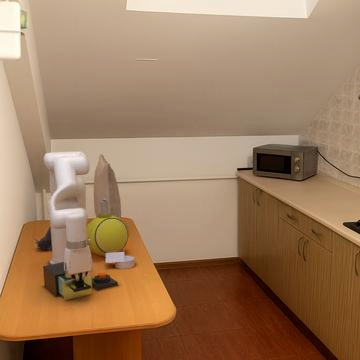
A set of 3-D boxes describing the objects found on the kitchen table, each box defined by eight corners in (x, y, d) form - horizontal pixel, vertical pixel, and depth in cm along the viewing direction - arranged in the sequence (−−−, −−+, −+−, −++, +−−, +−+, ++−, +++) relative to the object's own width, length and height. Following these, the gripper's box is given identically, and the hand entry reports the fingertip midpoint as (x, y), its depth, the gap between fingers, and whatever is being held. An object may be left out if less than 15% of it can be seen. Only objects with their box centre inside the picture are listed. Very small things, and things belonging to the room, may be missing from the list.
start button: (107, 277, 235) (107, 273, 235) (99, 279, 233) (99, 275, 233) (104, 275, 238) (104, 271, 238) (96, 277, 236) (96, 273, 235)
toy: (77, 253, 280) (73, 195, 275) (116, 246, 293) (114, 190, 288) (95, 265, 262) (91, 203, 256) (136, 256, 274) (134, 197, 269)
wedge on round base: (106, 269, 255) (134, 267, 257) (105, 255, 254) (134, 254, 256) (106, 263, 263) (134, 261, 266) (106, 250, 262) (134, 248, 265)
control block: (117, 285, 234) (117, 277, 234) (97, 290, 229) (97, 282, 228) (106, 278, 243) (106, 271, 242) (87, 283, 238) (86, 275, 237)
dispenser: (86, 289, 230) (85, 268, 229) (56, 296, 223) (55, 275, 221) (73, 280, 242) (72, 260, 240) (44, 286, 234) (42, 266, 233)
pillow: (125, 240, 302) (121, 162, 295) (99, 243, 298) (94, 164, 291) (116, 222, 343) (112, 153, 336) (93, 224, 339) (89, 154, 331)
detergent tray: (97, 296, 220) (96, 279, 219) (69, 303, 213) (68, 285, 212) (79, 284, 234) (78, 267, 233) (52, 290, 227) (51, 273, 226)
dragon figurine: (87, 231, 291) (38, 226, 279) (83, 253, 291) (34, 249, 280) (84, 226, 300) (36, 221, 289) (80, 248, 301) (32, 244, 290)
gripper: (91, 238, 222) (94, 282, 226) (54, 245, 214) (57, 290, 217) (99, 242, 217) (101, 287, 220) (61, 249, 208) (64, 296, 211)
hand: (80, 288), depth 218 cm, fingers closed
